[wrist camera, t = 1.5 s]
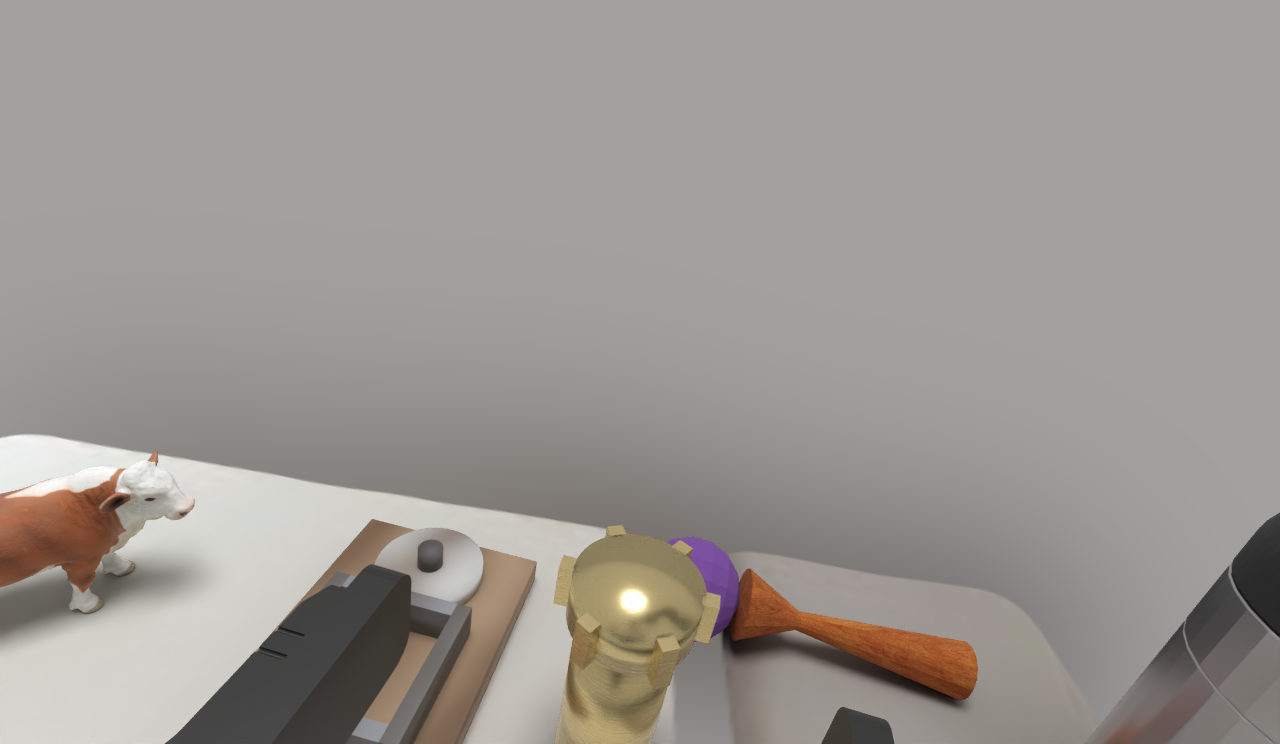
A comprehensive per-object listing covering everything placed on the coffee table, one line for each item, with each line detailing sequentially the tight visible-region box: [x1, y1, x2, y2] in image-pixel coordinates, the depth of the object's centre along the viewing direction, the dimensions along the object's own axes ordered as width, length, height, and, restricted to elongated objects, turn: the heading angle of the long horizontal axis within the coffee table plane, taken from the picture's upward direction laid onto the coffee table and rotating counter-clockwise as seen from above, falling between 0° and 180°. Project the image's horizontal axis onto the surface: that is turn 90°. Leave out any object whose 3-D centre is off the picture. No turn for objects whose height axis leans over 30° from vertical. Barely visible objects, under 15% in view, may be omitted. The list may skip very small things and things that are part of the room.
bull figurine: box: [0, 451, 195, 613], centre depth 30 cm, size 4×13×8 cm, turn 122°
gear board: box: [256, 519, 537, 744], centre depth 30 cm, size 11×20×4 cm, turn 170°
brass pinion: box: [554, 525, 721, 744], centre depth 27 cm, size 6×6×12 cm
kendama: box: [667, 537, 978, 700], centre depth 37 cm, size 6×6×20 cm
